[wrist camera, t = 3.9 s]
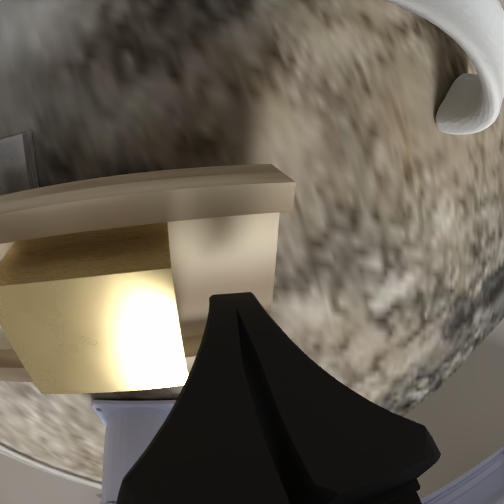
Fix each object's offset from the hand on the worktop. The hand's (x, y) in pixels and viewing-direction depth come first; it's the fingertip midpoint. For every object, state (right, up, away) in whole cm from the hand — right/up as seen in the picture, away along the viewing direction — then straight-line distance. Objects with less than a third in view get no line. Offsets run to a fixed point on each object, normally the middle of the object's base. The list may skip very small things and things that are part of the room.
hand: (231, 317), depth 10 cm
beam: (-12, +1, 0) cm, 12 cm away
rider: (-5, +1, +1) cm, 5 cm away
